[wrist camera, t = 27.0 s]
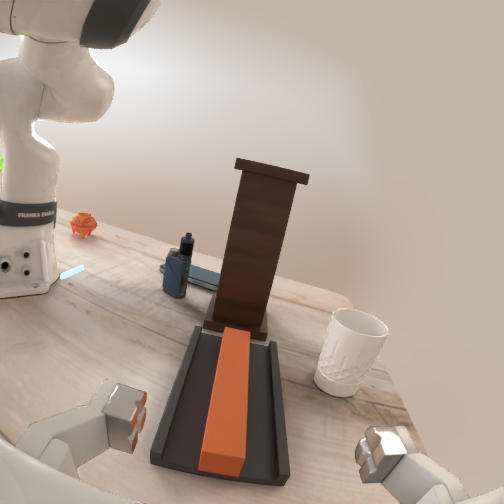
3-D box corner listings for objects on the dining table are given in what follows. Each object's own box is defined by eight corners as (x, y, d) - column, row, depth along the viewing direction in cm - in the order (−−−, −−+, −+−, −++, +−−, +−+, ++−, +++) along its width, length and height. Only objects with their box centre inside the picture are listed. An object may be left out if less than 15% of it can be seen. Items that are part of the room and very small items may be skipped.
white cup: (297, 375, 41) (319, 311, 38) (333, 362, 46) (354, 305, 43) (338, 407, 35) (368, 342, 32) (371, 389, 40) (398, 329, 37)
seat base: (284, 486, 22) (290, 475, 22) (149, 463, 22) (150, 451, 21) (273, 352, 45) (276, 341, 45) (193, 336, 45) (195, 325, 44)
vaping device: (178, 300, 56) (189, 235, 53) (159, 289, 58) (168, 227, 55) (188, 297, 58) (199, 235, 55) (168, 286, 60) (178, 227, 57)
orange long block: (238, 477, 22) (245, 458, 21) (197, 470, 21) (201, 451, 21) (245, 349, 43) (250, 331, 42) (221, 344, 43) (225, 326, 42)
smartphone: (176, 259, 73) (234, 277, 69) (176, 266, 74) (232, 284, 69) (157, 265, 66) (218, 286, 62) (157, 272, 67) (217, 294, 62)
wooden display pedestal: (265, 344, 47) (309, 174, 41) (201, 331, 47) (236, 157, 41) (263, 307, 61) (296, 174, 55) (213, 296, 61) (241, 161, 54)
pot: (63, 235, 72) (67, 210, 72) (74, 236, 80) (77, 212, 80) (90, 239, 74) (93, 213, 73) (98, 239, 81) (102, 215, 81)
